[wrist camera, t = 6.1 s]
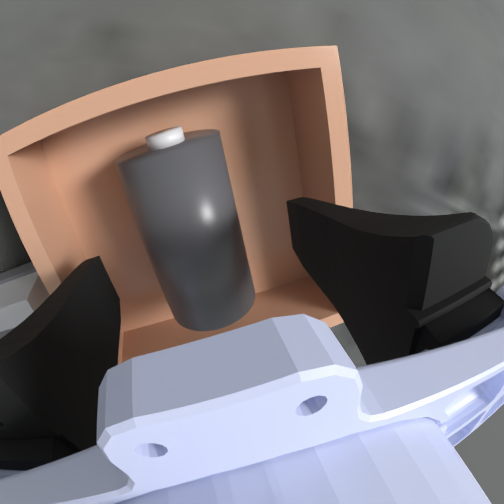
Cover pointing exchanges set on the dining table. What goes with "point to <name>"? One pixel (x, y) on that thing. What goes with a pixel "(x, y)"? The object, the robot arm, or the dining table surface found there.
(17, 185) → the bin
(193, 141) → the cell
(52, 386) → the robot arm
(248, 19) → the dining table surface
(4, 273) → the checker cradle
